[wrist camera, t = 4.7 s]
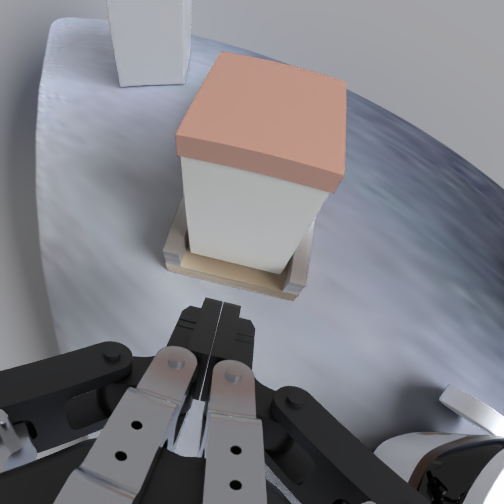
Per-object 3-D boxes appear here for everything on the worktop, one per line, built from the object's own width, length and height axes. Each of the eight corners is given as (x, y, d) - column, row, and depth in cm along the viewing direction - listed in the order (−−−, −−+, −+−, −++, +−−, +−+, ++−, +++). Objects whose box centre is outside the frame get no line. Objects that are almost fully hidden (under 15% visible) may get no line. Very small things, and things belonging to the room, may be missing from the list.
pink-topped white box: (213, 178, 23) (221, 51, 13) (295, 198, 23) (346, 81, 13) (188, 253, 21) (175, 134, 11) (281, 276, 21) (344, 175, 11)
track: (229, 103, 29) (234, 58, 24) (317, 124, 30) (334, 83, 25) (167, 270, 22) (156, 235, 17) (292, 300, 22) (317, 275, 17)
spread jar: (334, 522, 16) (422, 593, 5) (365, 381, 21) (483, 365, 10) (453, 504, 16) (550, 525, 6) (475, 387, 21) (581, 366, 10)
